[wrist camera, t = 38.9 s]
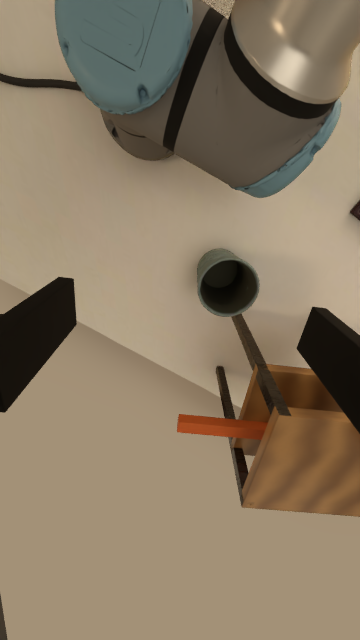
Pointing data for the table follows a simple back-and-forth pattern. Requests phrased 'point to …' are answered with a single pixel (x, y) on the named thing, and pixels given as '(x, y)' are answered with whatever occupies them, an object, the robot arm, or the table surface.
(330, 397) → the side table
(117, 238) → the table surface
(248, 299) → the green cup
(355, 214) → the chocolate bar
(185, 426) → the spatula
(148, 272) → the table surface
